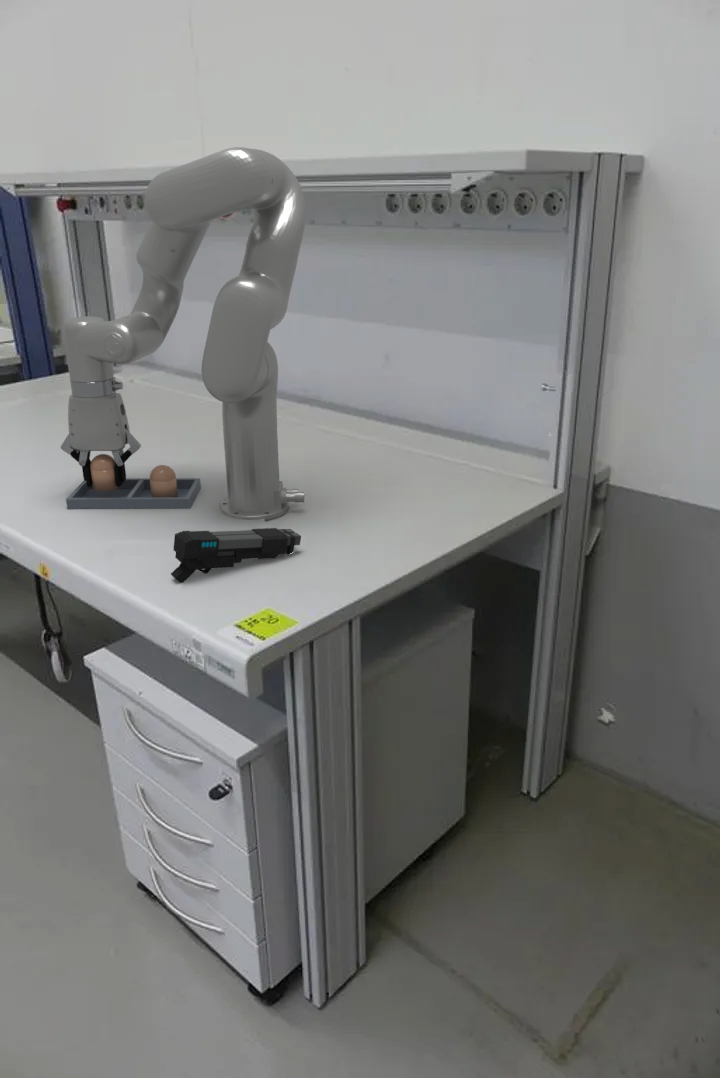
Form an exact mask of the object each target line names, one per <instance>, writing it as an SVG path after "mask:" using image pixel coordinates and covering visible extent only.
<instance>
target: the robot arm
mask: <svg viewBox="0 0 720 1078" xmlns="http://www.w3.org/2000/svg"><path fill="white" fill-rule="evenodd" d="M304 195H305V194H304V191H303V189H302V186H301V184H300V182H299V180H298V179H297V177H296V175H295V174H294V172H293V171H292V170H291V169H290V167H288V166H287V165H286V163H284V161H283V160H281V159H280V158H278V157H277V156H276V155H274V154H273V153H271V152H268V151H265V150H262V149H258V148H257V149H256V148H249V147H239V146H238V147H234V146H233V147H229V148H226V149H223V150H219V151H218V152H217V151H216V152H214V153H212V154H209V155H207V156H204V157H201V158H199V159H195V160H192V161H190V162H187V163H185V164H181V165H179V166H176V167H173V168H170V169H167V170H165V171H164V170H163V172H160V173H158V174H157V175H156V176H155V177H153V178H152V179H151V181H150V182H149V183H148V186H147V187H146V191H145V194H144V205H145V206H144V207H145V210H146V213H147V215H148V217H149V219H150V222H149V224H148V227H147V229H146V230H145V234H144V236H143V238H142V240H141V242H140V244H139V246H138V248H137V252H136V253H135V254H136V258H135V259H136V261H137V264H138V266H139V267H140V269H141V272H142V277H143V278H142V284H141V288H140V291H139V294H138V297H137V299H136V301H135V303H134V305H133V307H132V310H131V312H130V314H128V315H125V316H121V317H120V318H115V319H113V320H107V321H106V320H105V319H103V318H102V317H99V316H92V315H91V316H88V315H87V316H85V315H83V316H74V317H71V318H67V319H66V320H64V322H63V324H62V333H63V339H64V347H65V354H66V362H67V366H68V367H67V368H68V375H69V381H70V383H69V384H70V389H71V395H69V396H68V409H67V412H68V413H67V420H68V421H67V423H68V424H67V425H68V435H67V436H66V438H65V439H64V440H63V443H62V444H61V445H60V449H61V450H62V451H63V452H65V453H66V454H67V455H70V457H71V458H73V459H74V460H75V461H76V462H77V463H78V466H80V467H81V468H82V476H83V481H86V483H87V487H90V486H92V478H91V470H90V464H91V461H92V459H91V454H92V452H111V454H112V457H113V458H114V460H115V463H116V465H115V466H114V473H115V481H116V486H117V487H120V486H121V485H122V484H123V483H124V481H125V480H126V479H127V473H126V464H125V462H127V461H128V459H129V458H130V457H132V455H134V454H135V453H136V452H138V451H139V450H140V448H141V447H142V444H141V443H140V442H139V441H138V440H137V439H136V438H135V436H134V435H132V433H131V431H130V425H129V421H128V416H127V410H126V407H125V404H124V400H123V398H122V395H121V393H119V392H117V391H119V390H123V389H124V385H123V381H118V380H117V379H116V377H115V376H114V367H113V365H114V364H115V365H122V366H124V365H130V364H133V363H135V362H137V361H139V360H141V359H142V358H144V357H147V356H150V355H152V354H153V353H155V352H156V351H157V350H158V349H160V348H161V346H162V344H163V343H164V341H165V339H166V337H167V335H168V333H169V331H170V329H171V327H172V325H173V323H174V320H175V318H176V315H177V314H178V311H179V308H180V305H181V301H182V300H181V299H182V296H183V295H182V294H183V291H184V282H185V279H186V278H187V277H186V276H187V274H188V272H189V270H190V268H191V265H192V263H193V261H194V259H195V258H196V255H197V253H198V251H199V248H200V246H201V244H202V242H203V240H204V238H205V235H206V234H207V231H208V230H209V227H210V225H211V223H212V221H213V220H216V219H219V218H222V217H225V216H229V215H231V214H234V213H237V212H240V211H245V210H253V216H254V217H253V222H252V225H251V227H250V231H249V233H248V236H247V240H246V241H247V242H246V244H245V251H244V255H243V260H242V265H241V269H240V271H239V273H238V276H235V277H232V278H231V279H230V280H228V281H227V282H226V283H225V284H224V285H223V286H222V287H221V288H220V290H219V291H218V293H217V295H216V298H215V301H214V304H213V308H212V311H211V316H210V321H209V326H208V331H207V335H206V341H205V346H204V350H203V355H202V360H201V370H200V371H201V379H202V382H203V385H204V387H205V390H206V391H207V392H208V393H209V394H210V395H211V396H212V397H213V398H215V399H216V400H217V401H219V402H222V405H221V406H222V409H221V411H222V431H223V445H224V447H223V448H224V461H225V476H226V487H227V488H226V489H227V498H225V499H224V500H222V501H221V503H220V504H219V510H220V512H221V513H222V515H225V516H226V517H229V518H232V519H237V520H245V521H246V520H249V521H250V520H254V521H255V520H264V521H268V520H273V519H276V518H279V517H281V516H283V515H285V513H287V512H288V511H289V509H290V503H305V491H299V490H300V489H299V488H289V489H287V488H286V487H283V486H284V483H283V481H282V480H280V468H279V467H280V466H279V465H280V464H279V444H278V443H279V442H278V441H279V440H278V438H279V437H278V411H277V410H278V409H277V408H278V407H277V396H278V381H279V380H278V379H279V365H278V358H277V355H276V351H275V350H274V348H273V346H272V345H271V344H270V343H269V342H268V341H269V335H270V333H271V330H273V328H276V327H277V326H278V325H279V324H280V323H281V322H282V320H283V319H284V317H285V316H286V313H287V309H288V304H289V300H290V295H291V290H292V287H293V282H294V277H295V273H296V269H297V264H298V258H299V255H300V250H301V246H302V241H303V238H304V232H305V227H306V217H307V209H306V208H307V207H306V200H305V196H304ZM126 445H129V447H128V449H126V450H124V449H125V448H126Z"/></svg>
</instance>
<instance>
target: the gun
mask: <svg viewBox="0 0 720 1078" xmlns="http://www.w3.org/2000/svg"><path fill="white" fill-rule="evenodd" d="M301 538H302V535H300V534H299V533H298V532H296V531H294V530H293V529H291V528H276V527H270V528H269V527H267V528H252V529H250V530H249V529H248V530H247V529H245V530H224V531H223V530H221V531H220V530H219V531H209V530H193V531H192V530H183V531H179V532H177V533H174V538H173V539H174V541H173V551H174V552H175V555H174V556H175V558H176V560H178V561H179V562H180V563H179V565H178V566H177V567H176V568H175V569H174V570H173V571H172V572H171V573H170V576H172V577H173V579H175V580H176V581H177V582H178V583H179V584H183V583H185V582H186V581H187V580H188V579H189V578H190V577H191V576H192V575H193V574H194V573H195V572H196V571H199V572H201V573H204V574H205V575H206V574H209V572H211V571H212V570H214V569H225V568H234V567H235V564H242V563H243V560H251V559H257V560H267V559H276V558H277V557H279V556H280V555H284V554H285V555H289V554H290V553H292V552H294V551H295V546H301V540H302V539H301Z"/></svg>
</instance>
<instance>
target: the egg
mask: <svg viewBox="0 0 720 1078" xmlns="http://www.w3.org/2000/svg"><path fill="white" fill-rule="evenodd" d="M115 465H116V463H115V459H114V457H113V456H111V455H110V454H106V453H100V454H97V455H95V456H94V457H93V458H92V459H91V464H90V470H91V478H92V485H93V489H94V490H96V491H111V490H115V489H117V488H119V487H117V486H116V481H115V473H114V466H115Z"/></svg>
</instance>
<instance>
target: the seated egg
mask: <svg viewBox="0 0 720 1078" xmlns="http://www.w3.org/2000/svg"><path fill="white" fill-rule="evenodd" d="M149 478H150V485H151V494H152V498H154V497H178V493H177V483H176V478H177V475H176V472H175V471H174V469H173V468H172V467H170V466H169V465H166V464H160V465H159V464H158V465H157V466H155V467H154V468H153V469H152V470H151V471H150V475H149Z"/></svg>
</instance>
